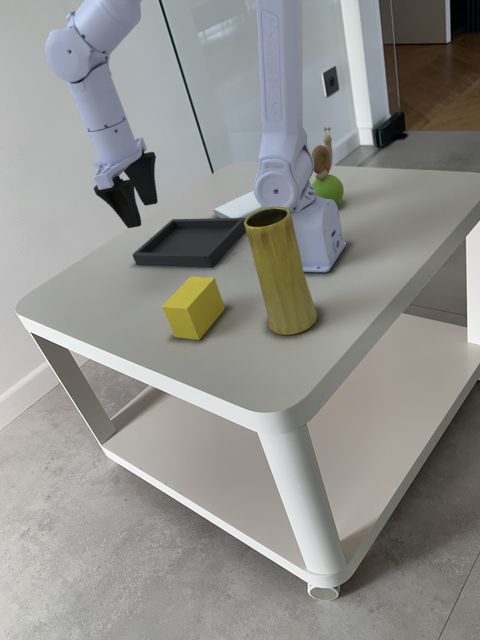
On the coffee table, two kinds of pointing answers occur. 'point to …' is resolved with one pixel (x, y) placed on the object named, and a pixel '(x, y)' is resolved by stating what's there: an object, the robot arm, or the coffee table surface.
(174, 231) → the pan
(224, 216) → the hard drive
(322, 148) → the snail figurine
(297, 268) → the vase
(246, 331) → the coffee table surface
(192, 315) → the sponge
